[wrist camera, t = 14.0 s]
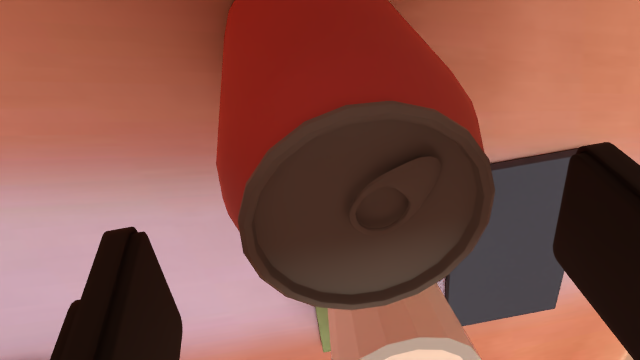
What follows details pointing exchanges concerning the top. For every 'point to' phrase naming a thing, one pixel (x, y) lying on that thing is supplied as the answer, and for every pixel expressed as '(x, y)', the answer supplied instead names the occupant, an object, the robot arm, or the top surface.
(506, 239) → the slate mat
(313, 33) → the beer can
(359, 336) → the cup
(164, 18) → the top surface
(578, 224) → the robot arm
